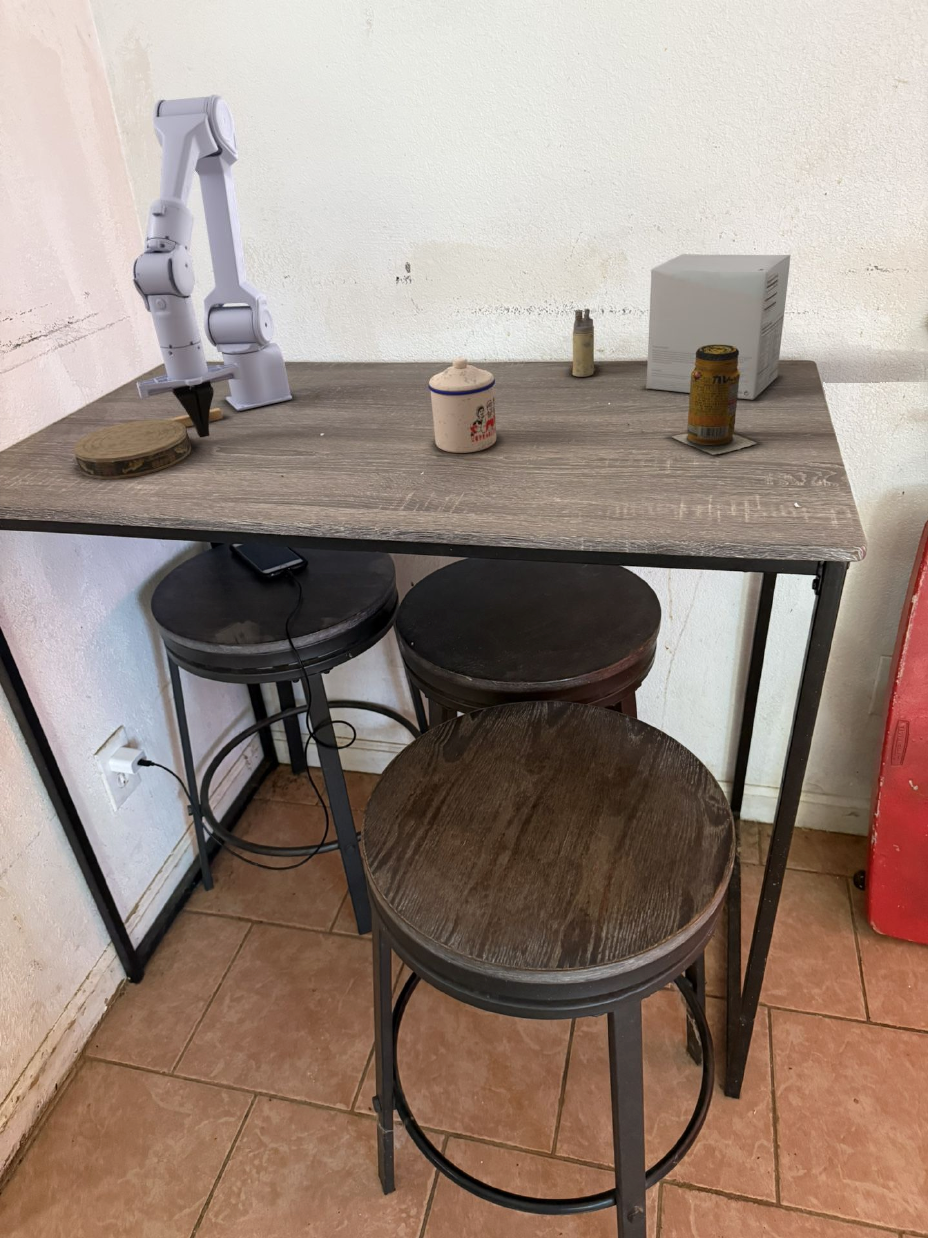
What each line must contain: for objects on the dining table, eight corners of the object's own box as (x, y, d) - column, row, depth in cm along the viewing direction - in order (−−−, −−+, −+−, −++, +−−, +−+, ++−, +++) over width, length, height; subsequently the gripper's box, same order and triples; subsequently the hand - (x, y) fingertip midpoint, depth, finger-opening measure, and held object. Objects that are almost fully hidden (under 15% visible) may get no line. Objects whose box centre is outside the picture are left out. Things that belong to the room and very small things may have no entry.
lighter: (574, 365, 147) (573, 305, 141) (596, 364, 146) (596, 304, 141) (572, 377, 141) (571, 316, 136) (595, 377, 140) (595, 315, 135)
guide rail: (220, 416, 137) (218, 407, 137) (222, 418, 136) (220, 409, 136) (106, 442, 131) (103, 432, 130) (108, 444, 130) (105, 435, 129)
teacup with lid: (482, 457, 114) (476, 370, 107) (422, 451, 117) (414, 367, 111) (515, 427, 123) (512, 346, 116) (459, 422, 126) (453, 343, 120)
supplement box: (779, 376, 133) (794, 253, 124) (754, 401, 124) (769, 271, 115) (674, 366, 142) (681, 251, 132) (643, 389, 133) (648, 267, 123)
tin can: (98, 488, 114) (91, 467, 113) (65, 459, 125) (59, 439, 124) (208, 455, 122) (203, 435, 121) (168, 430, 133) (163, 412, 132)
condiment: (713, 426, 117) (721, 338, 110) (757, 444, 110) (767, 351, 104) (671, 438, 114) (676, 348, 108) (712, 457, 108) (720, 362, 101)
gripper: (133, 358, 114) (160, 453, 121) (237, 338, 119) (257, 431, 126) (124, 348, 119) (150, 440, 126) (225, 329, 124) (244, 418, 132)
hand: (203, 434), depth 127 cm, fingers closed
